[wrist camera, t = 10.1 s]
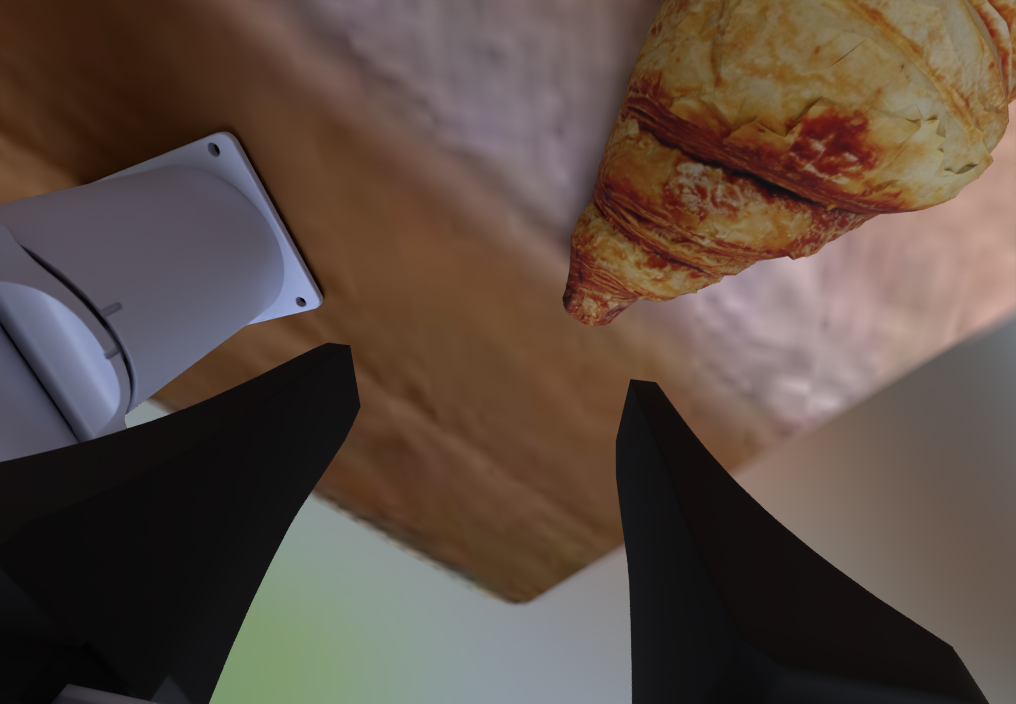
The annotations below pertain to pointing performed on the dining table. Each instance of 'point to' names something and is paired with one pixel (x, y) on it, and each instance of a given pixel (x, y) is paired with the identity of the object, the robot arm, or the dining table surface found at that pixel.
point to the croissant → (784, 135)
